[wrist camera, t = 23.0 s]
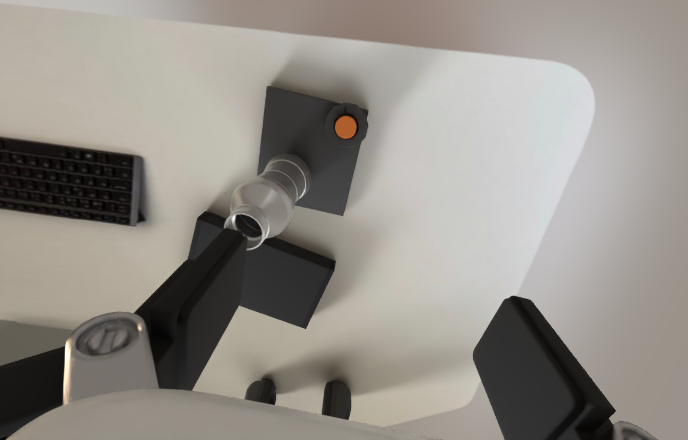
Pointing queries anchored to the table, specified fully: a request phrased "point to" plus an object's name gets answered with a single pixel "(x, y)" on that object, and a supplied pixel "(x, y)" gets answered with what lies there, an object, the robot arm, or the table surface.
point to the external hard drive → (273, 274)
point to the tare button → (345, 127)
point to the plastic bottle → (268, 199)
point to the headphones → (333, 401)
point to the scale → (313, 144)
